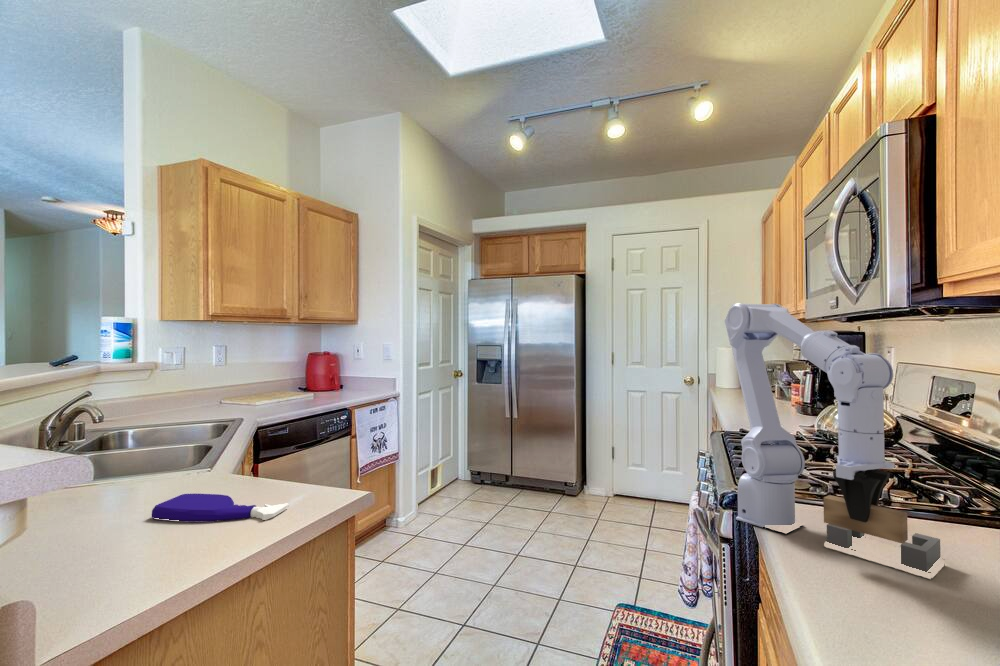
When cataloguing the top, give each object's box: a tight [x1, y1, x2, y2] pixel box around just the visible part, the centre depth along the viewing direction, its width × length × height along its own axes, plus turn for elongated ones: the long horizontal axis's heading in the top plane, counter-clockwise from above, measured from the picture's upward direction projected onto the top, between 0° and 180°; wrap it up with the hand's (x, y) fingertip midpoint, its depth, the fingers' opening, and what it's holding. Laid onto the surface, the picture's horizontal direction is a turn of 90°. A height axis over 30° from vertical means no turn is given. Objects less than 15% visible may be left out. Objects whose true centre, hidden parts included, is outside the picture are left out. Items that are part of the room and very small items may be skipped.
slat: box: [823, 494, 909, 544], centre depth 73 cm, size 10×2×4 cm, turn 36°
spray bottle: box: [151, 493, 290, 522], centre depth 97 cm, size 3×11×24 cm
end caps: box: [826, 523, 942, 572], centre depth 78 cm, size 13×8×3 cm, turn 36°
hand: (862, 517), depth 73 cm, fingers closed on slat, 2 cm apart
